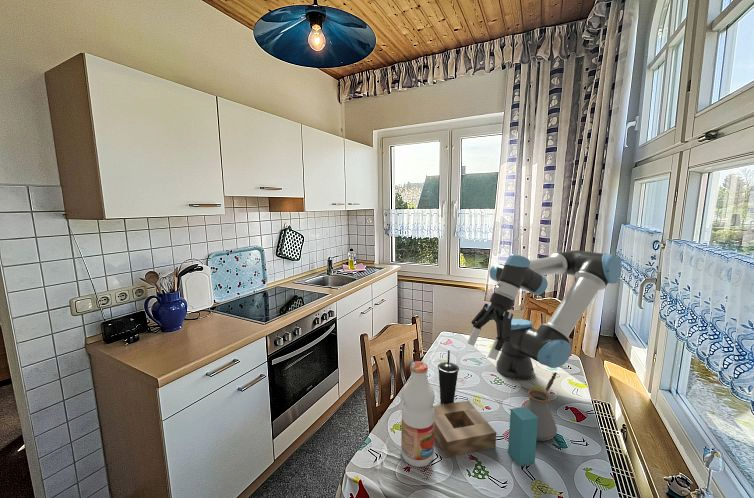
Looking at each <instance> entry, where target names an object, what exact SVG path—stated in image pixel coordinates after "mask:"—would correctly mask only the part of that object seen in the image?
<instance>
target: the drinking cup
mask: <svg viewBox="0 0 754 498" xmlns="http://www.w3.org/2000/svg"><path fill="white" fill-rule="evenodd" d="M450 355H451V350H447V361H446V362H445V361H443V362H440V363H439V364H438V365H437V369H438V379H439V380H438V382H439V394H440V395H439V397H440V398H439V399H440V403H441V405H443V404H449V403H455V396H456V388H457V381H458V374H459V372H460V371H459V370H460V367H459V366H458V365H457V364H456V363H453V362H451V360H450V358H451V357H450Z"/></svg>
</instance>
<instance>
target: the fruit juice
mask: <svg viewBox="0 0 754 498" xmlns="http://www.w3.org/2000/svg"><path fill="white" fill-rule="evenodd" d="M428 369H429V367H428V364H427V362H423V361H418V360H416V361H413V362H411V363H410V366H409V370H410V376H409V380H408V382H406V383H405V384H404V386H403V388H402V400H403V404H402V407H401V429H400V430H401V431H400V432H401V434H400V435H401V437H400V438H401V441H400V443H401V446H400V448H401V457H402V458H403V460H404V461H405V462H406V463H407V464H408V465H410V466H411V467H416V468H421V467H427V466H428V465H429V464H430V463H432V461H433V458H434V452H435V451H434V449H435V448H434V447H435V446H434V445H435V436H434V420H435V414H434V407H433V406H434V401H435V391H434V388H433V387H432V385H431V383H430V382H429V380H428V376H427V373H428V371H429V370H428Z"/></svg>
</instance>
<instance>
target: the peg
mask: <svg viewBox="0 0 754 498" xmlns="http://www.w3.org/2000/svg"><path fill="white" fill-rule="evenodd" d="M524 406H525V405H524ZM524 406H520V407H514V408H510V415H509V433H508V447H507V448H508V450H507V453H508V454H509V455H510V457H511V458H512V459H513V460H514V462H515V463H516V464H517V465H518V466H519V467H521V466H526V465H530V464H534V463H535V461H536V450H537V440H536V438H537V425H538V417H537V416H536V415H535V414H534V413H532V412H531V411H530V410H529V409H528V408H527V407H526V406H525V407H524Z"/></svg>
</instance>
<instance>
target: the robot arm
mask: <svg viewBox="0 0 754 498" xmlns="http://www.w3.org/2000/svg"><path fill="white" fill-rule="evenodd" d="M553 274H555V275H558V276H559V275H568V276H569V275H571V276H574V277H575V281H574V282H573V283H572V285H571V286H570V288H569V289H568V291H567V292H566V294H565V296H564V297H563V298H562V300H561V302H560V304H558V306H557V307H556V309H555V311H554V312H553V313H552V315H551V316H550V318H549V319H548V321H547V323H541V324H540V325H539V327H538V328H537V329H536V328H534V327H533V326H534V324H533V322H532V321H530V320H528V319H524V318H523V319H522V318H513V316H514V314H513V313H512V312H509V311H510V310H512V307H513V305H514V303H515V301H514V300H515V299H517V295H518V293H519V290H523V291H524V290H525V291H527V292H529V293H530V294H533V295H536V296H537V295H542V294H543V293H545V292H546V290H547V289H548V285H549V283H548V280H547V278H545V277H544V276H548V275H553ZM621 275H622V263H621V260H620V259H619V257H617V256H616V255H614V254H610V253H609V254H608V253H606V252H605V253H601V252H593V251H587V250H577V249H575V250H567V251H562V252H556V253H552V254H551V255H549V256H547V257H541V258H536V259H531V260H530V259H529V258H527V257H525V256H523V255H521V254H517V253H512V254H509V256H508V257H507V259H506V261H505V262H504V264H503V263H494V264H493V265H491V267H490V269H489V277H490V279H491V280H493V281H494V282H496V285H495V288H494V289H493V290H494V292H493V293H492V294H491V296H490V299H489V302H490V303H491V304H489V303H484V305H483V306H482V308H481V310H480V311H479V312H478V313H477V314H476V315H475V317H474V318H473V319H472V320H471V325H472V329H471V332H470V335H469V338H468V340H467V344H468V345H470V346H472V347H475V345H476V342H477V341H478V338H479V336H480V333H481V331H482V327H484V326H485V325H486V324H487V323H489V322H490V321H494V322H495V326H496V336H497V337H495V339H494V341H493V343H492V346H491V347H490V348H491V349H490V350H489V353H488V355H487V358H490V359H491V360H494V361H496V370H497V372H498V373H500V374H501V375H503V376H504V377H507V378H509V379H513V380H520V381H525V380H530V379H532V378H533V377H534V374H535V370H534V365H533V361H532V360H534V361H535V362H538V363H539V364H540V365H542V366H546V367H548V368H550V369H557V368H560V367H562V366H564V365H565V364H566V363H567V362H568V360H569V359H570V356H571V353H572V347H571V344H570V343H571V339H570V334H571V333H572V332H573V330H574V328H575V327H576V325H577V324H578V322H579V321H580V320H581V318H582V316H583V315H584V313H585V311H586V310H587V309H588V307H589V306H590V304H591V302H592V300H593V299H594V298H595V296H596V294H597V293H598V291H601V290H605V288H606V287H607V285H608V284H611V285H612V284H614V285H615V284H617V283H618V282H619V280H620V278H621ZM499 353H500V354H499ZM498 355H499V356H498ZM497 358H498V359H497Z"/></svg>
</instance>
